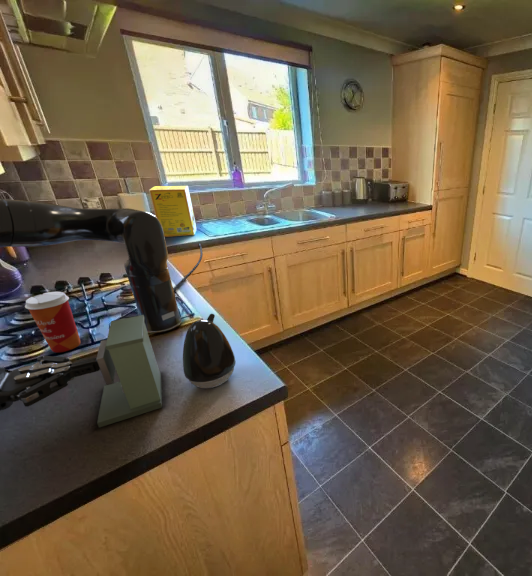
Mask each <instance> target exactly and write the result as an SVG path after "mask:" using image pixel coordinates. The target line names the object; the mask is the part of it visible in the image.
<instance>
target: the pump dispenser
mask: <svg viewBox="0 0 532 576" xmlns="http://www.w3.org/2000/svg"><path fill="white" fill-rule="evenodd" d="M215 317H216V315H215V313H210V314H209V315H208V317H207V319H200V320H197V321H194V322H193V323H192V324H191V325H190V326H189V328H188V329H187V330H186V333H185V337H184V341H183V346H182V371H183V375H184V377H185V378H186V379H187V380H188V381H189V382H190V383H191V384H192V385H193V386H195V387H197V388H201V389H212V388H216V387H219V386H221V385H223V384H224V383H226V382H227V381H228V380H229V379H230V378H231V377H232V375H233V372H234V370H235V366H236V361H237V360H236V357H235V353H234V351H233V349H232V346H231V344H230V342H229V340H228V338H227V337H226V335H225V334H224V332H223V331H222V330H221V328H220V327H219V325H217V324H216V323H215V322H214V320H215Z"/></svg>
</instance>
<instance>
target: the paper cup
mask: <svg viewBox="0 0 532 576" xmlns="http://www.w3.org/2000/svg"><path fill="white" fill-rule="evenodd" d="M69 300H70V297H69V296H68V295H67V294H66V293H65V292H63V291H49V292H43V293H42V294H36V295H35V296H30V297H29V298H27V299H26V300H25V305H24V308H25V309H27V310H28V312H29V313H30V315H31V317H32V319H33V320H34V322H35V324H36V326H37V328H38V329H39V331H40V333H41V335H42V336H43V338H44V340H45V342H46V343H47V345H48V347H49V348H50V350H51V352H52V353H64V352H69V351H71V350H74V349H76V348H78V347H79V346H80V345H81V338H80V335H79V330H78V328H77V325H76V322H75V319H74V315H73V311H72V309H71V306H70V302H69Z"/></svg>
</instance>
